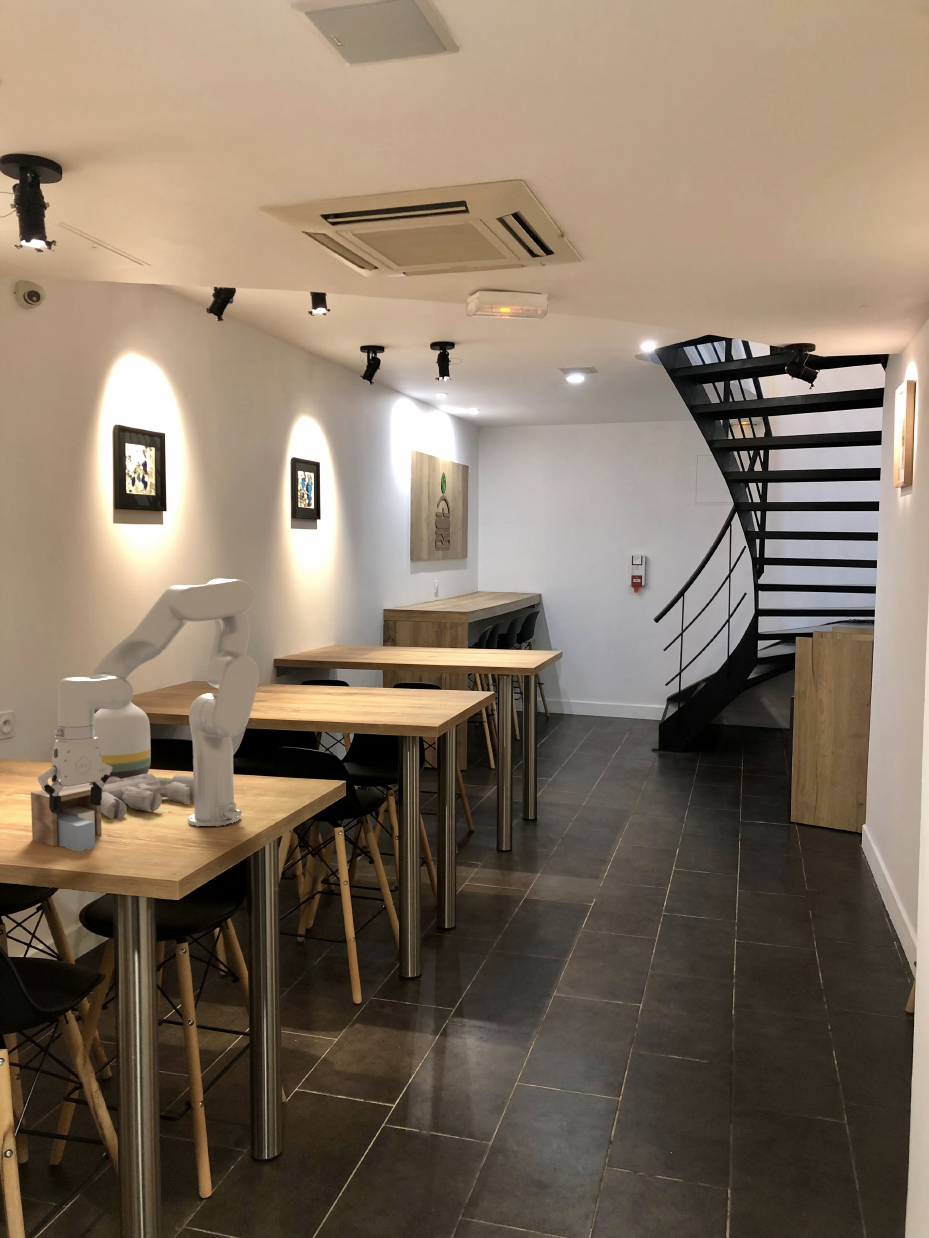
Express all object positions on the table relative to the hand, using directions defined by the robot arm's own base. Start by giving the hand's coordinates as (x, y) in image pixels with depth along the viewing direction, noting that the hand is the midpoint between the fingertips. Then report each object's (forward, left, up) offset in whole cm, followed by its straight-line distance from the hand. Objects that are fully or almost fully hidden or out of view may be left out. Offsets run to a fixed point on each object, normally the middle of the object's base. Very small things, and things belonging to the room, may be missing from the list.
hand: (76, 808), depth 209 cm
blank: (+4, -1, -9) cm, 10 cm away
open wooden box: (+10, -3, -9) cm, 14 cm away
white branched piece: (+26, -32, -10) cm, 42 cm away
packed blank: (+9, -6, -9) cm, 14 cm away
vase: (+51, -44, -9) cm, 68 cm away
